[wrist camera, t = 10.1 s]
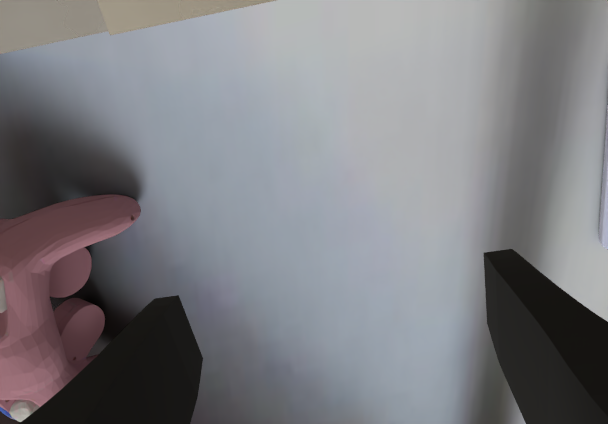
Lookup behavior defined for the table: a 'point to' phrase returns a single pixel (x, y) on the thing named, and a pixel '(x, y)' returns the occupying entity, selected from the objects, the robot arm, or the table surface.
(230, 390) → the table surface
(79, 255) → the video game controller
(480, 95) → the table surface
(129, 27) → the plate
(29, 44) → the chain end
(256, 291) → the table surface
